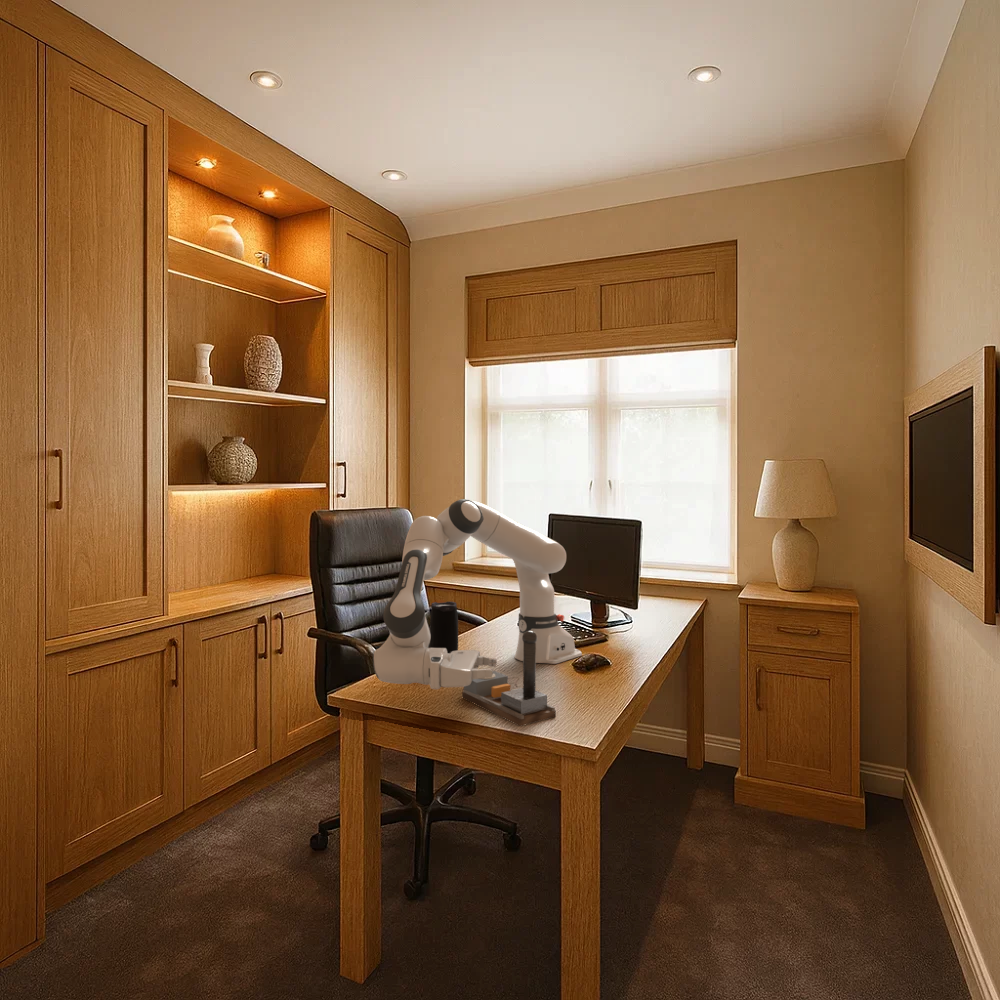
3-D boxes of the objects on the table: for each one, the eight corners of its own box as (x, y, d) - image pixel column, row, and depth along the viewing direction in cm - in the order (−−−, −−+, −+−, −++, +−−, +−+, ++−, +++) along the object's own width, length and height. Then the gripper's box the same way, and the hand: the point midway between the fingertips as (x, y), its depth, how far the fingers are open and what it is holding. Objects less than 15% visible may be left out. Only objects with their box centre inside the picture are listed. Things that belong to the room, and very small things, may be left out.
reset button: (507, 692, 181) (507, 683, 180) (510, 694, 179) (510, 684, 179) (491, 696, 178) (491, 686, 178) (494, 697, 176) (494, 688, 176)
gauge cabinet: (494, 685, 189) (494, 668, 189) (507, 690, 185) (507, 673, 184) (463, 691, 184) (463, 674, 183) (476, 697, 179) (476, 680, 179)
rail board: (496, 690, 190) (496, 682, 190) (555, 716, 170) (555, 707, 170) (462, 697, 183) (462, 689, 183) (520, 726, 163) (520, 716, 163)
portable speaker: (453, 661, 218) (454, 600, 218) (461, 669, 210) (461, 605, 209) (426, 663, 216) (427, 601, 215) (433, 672, 207) (433, 606, 206)
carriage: (526, 700, 176) (527, 624, 176) (547, 709, 170) (547, 630, 169) (501, 706, 172) (501, 628, 171) (521, 715, 165) (521, 634, 164)
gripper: (445, 667, 181) (498, 668, 180) (430, 691, 160) (490, 693, 159) (445, 643, 181) (498, 644, 179) (430, 664, 160) (490, 665, 159)
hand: (494, 667), depth 169 cm, fingers open, 8 cm apart
